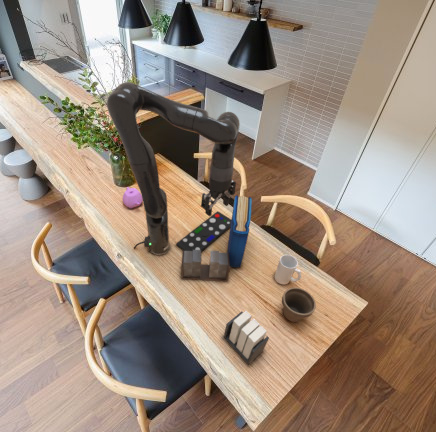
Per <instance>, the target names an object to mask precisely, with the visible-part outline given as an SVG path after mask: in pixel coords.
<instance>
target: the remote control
mask: <svg viewBox="0 0 436 432" xmlns="http://www.w3.org/2000/svg"><path fill="white" fill-rule="evenodd" d="M231 219H232V218H229V217H228V216H226V215H224V214H223V213H221V212H220V211H216V212H215V213H212V214H211V216H209V217H208V218H206V220H204V221H202V223H200V224H199V225H198V226H197V227H195V228H194V229H193V230H192V231H190V232H189V233H188V234H186V235H185V236H183V238H181V239H180V240H179V241H177V242H176V243H175V245H176V247H177V248H179V249H180V250H181V251H193V250H201V253H203V252H204V251H205V250H206V249H207V248H209V247H210V246H211V245H212V244H214V243H215V241H217V240H218V239H219V238H220V237H221V236H222V235H225V233H226V232H228V230H230V226H231Z"/></svg>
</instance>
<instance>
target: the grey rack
mask: <svg viewBox="0 0 436 432" xmlns="http://www.w3.org/2000/svg"><path fill="white" fill-rule="evenodd" d="M181 251H182V252H181V267H180V268H181V280H190V281H192V280H193V281H209V282H212V281H213V282H228V279H229V275H230V269H231V266H230V262H229V253H227V252H220V250H210V251H209V261H208V264H202V252H201V250H193V251H183V250H181Z"/></svg>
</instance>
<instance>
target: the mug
mask: <svg viewBox="0 0 436 432" xmlns="http://www.w3.org/2000/svg"><path fill="white" fill-rule="evenodd" d="M298 264H299V262H298V260H297V258H296V257H295V256H293V255H291V254H283V255H281V256H280V258H279V261H278V263H277V267H276V271H275V273H274V280H275V281H276V282H277V283H278V284H279V285H288V284H289V283H290V282H292V284H296V283H297V282H299V281H300V280H301V279H302V270H301V269H299V268H297V267H298ZM294 273H296V274H297V277H296V278H294V277H293V275H294Z"/></svg>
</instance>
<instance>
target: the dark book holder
mask: <svg viewBox="0 0 436 432" xmlns="http://www.w3.org/2000/svg"><path fill="white" fill-rule="evenodd" d="M243 312H244V311H242V310H241V311H240V312H239V313H237V315H235V316H234V317H233V318H231V320H229V321H228V322H227V323H226V325H225V328H224V334H223V339H224V340H225V341H226V342H227V343H228V345H230V347H232V348H233V350H234V351H235V352H236V353H237V354H238V355H239V356H240V357H241V358H242V360H243V361H244V362H245V363H246V364H247V365H248V366H249V365H250V364H252V362H253V361H254V360H255V359H256V358H257V357H259V355H261V354H262V353H263V352H264V350H265V347H266V346H267V343H268V342H269V340H270V337H269V336H266V334H267V332H268V330H267V329H265V328H264V326H263V325H261V324H260V323H259V322H258V321H257V320H256V319H255V318H252V319H250V322H249V323H248V324H247V325H246V326H244V327H243V328H242V329H241V332H240V336H239V339H238V341H237V342H236V343H235V344H233V343H232V342H231V340H230V339H229V337H230V333H231V329H232V325H233V321H234V320H235V319H236V318H237V317H239V316H240V315H241V314H242V313H243Z"/></svg>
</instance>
